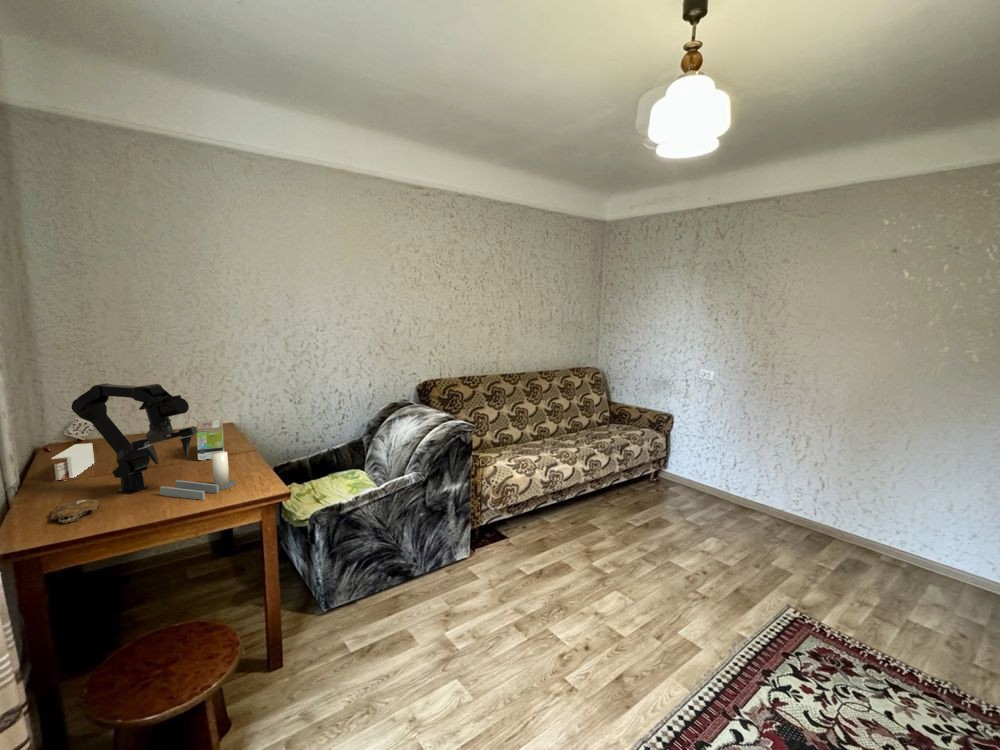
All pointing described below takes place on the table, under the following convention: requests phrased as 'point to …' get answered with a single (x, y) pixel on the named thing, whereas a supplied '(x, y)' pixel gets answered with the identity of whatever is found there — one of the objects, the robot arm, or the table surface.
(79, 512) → the decorative rock
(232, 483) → the coaster
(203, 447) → the tea box
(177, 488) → the grey parallel rails
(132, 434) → the table surface
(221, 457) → the white rounded block
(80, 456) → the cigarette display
